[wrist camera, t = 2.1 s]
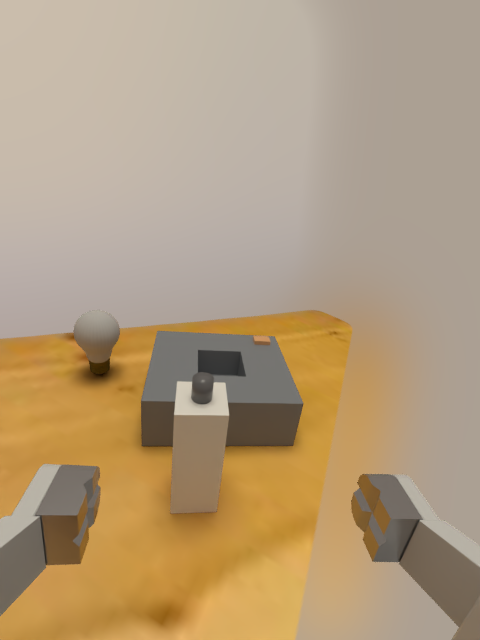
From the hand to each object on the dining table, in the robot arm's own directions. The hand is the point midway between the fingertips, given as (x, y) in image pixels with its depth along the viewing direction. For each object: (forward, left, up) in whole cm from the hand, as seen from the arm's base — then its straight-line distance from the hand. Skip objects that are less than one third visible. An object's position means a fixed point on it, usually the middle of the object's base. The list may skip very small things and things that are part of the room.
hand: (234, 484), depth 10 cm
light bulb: (-14, +36, -22) cm, 44 cm away
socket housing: (+3, +30, -21) cm, 37 cm away
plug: (0, +16, -21) cm, 27 cm away
